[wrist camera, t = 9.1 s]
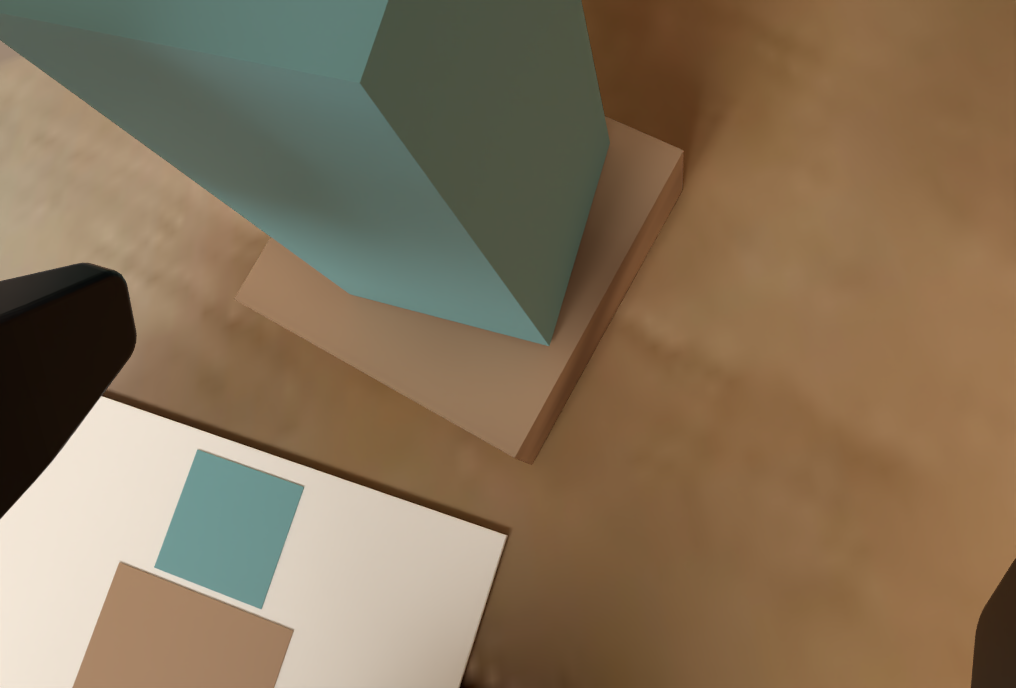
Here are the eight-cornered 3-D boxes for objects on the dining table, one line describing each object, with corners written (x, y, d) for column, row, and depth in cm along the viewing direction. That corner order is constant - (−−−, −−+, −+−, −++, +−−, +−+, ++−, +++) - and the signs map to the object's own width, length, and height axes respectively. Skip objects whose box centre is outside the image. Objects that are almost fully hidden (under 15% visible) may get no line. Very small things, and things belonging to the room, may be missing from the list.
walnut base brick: (535, 466, 23) (514, 458, 20) (285, 325, 25) (233, 298, 22) (683, 196, 23) (683, 150, 21) (428, 80, 25) (395, 23, 23)
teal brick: (549, 346, 20) (360, 83, 9) (349, 294, 21) (-51, 2, 10) (610, 142, 21) (510, -351, 9) (413, 104, 22) (111, -375, 11)
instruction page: (374, 956, 21) (371, 960, 20) (-97, 730, 24) (-104, 732, 24) (507, 535, 22) (505, 535, 22) (43, 375, 25) (38, 374, 25)
